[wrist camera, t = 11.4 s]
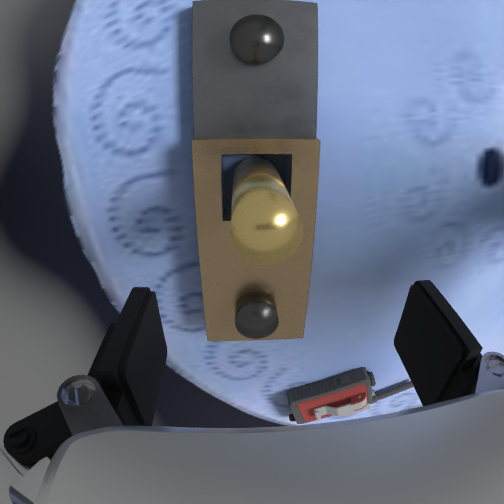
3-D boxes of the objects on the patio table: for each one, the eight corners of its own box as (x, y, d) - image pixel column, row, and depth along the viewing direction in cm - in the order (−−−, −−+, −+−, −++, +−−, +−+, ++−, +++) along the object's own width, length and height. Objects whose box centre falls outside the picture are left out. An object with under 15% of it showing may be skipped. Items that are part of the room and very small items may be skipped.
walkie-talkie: (292, 419, 46) (412, 380, 44) (295, 442, 42) (422, 400, 40) (277, 389, 42) (413, 344, 40) (280, 414, 38) (426, 366, 36)
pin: (286, 170, 28) (317, 220, 18) (263, 207, 30) (278, 276, 19) (247, 148, 27) (253, 185, 17) (225, 186, 29) (217, 246, 18)
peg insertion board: (313, 7, 21) (328, -9, 17) (298, 320, 36) (306, 350, 32) (194, 5, 21) (186, -12, 17) (209, 322, 36) (206, 354, 31)
